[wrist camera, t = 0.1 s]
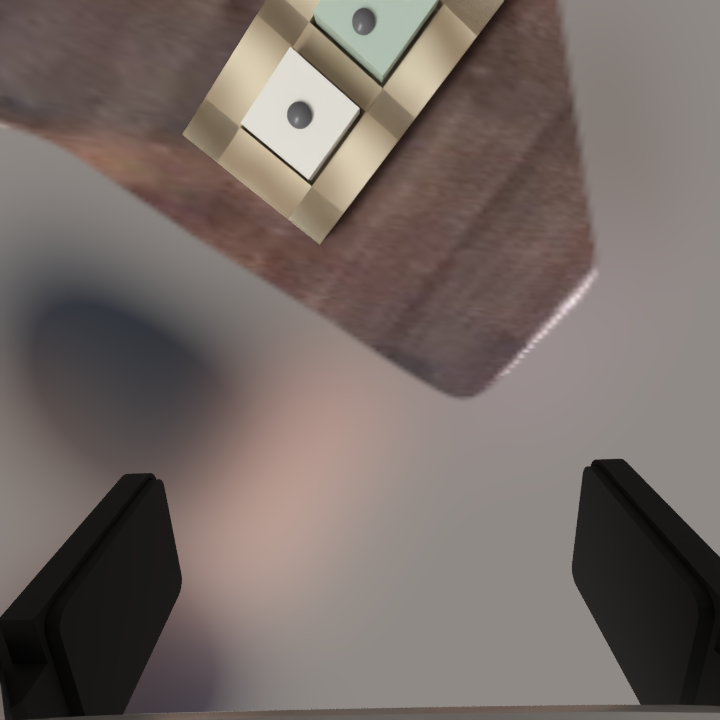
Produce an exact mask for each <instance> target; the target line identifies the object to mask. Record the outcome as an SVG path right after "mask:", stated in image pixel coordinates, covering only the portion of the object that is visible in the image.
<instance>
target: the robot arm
mask: <svg viewBox="0 0 720 720" xmlns="http://www.w3.org/2000/svg"><path fill="white" fill-rule="evenodd" d="M573 553H574V554H573V561H572V574H573V578H574V582H575V584H576V586H577V587H578V590H579V591H580V593H581V595H582V597H583V599H584V601H585V603H586V604H587V606H588V608H589V610H590V612H591V614H592V615H593V617H594V619H595V621H596V623H597V624H598V627H599V628H600V630H601V632H602V634H603V636H604V638H605V639H606V641H607V643H608V645H609V647H610V649H611V651H612V652H613V654H614V656H615V658H616V660H617V662H618V663H619V665H620V667H621V669H622V671H623V673H624V675H625V676H626V678H627V680H628V682H629V683H630V685H631V687H632V689H633V691H634V693H635V695H636V697H637V698H638V700H639V702H640V704H641V705H557V706H556V705H550V706H479V707H478V706H474V707H473V706H472V707H416V708H415V707H414V708H361V709H315V710H314V709H311V710H268V711H233V712H232V711H231V712H229V711H228V712H193V713H192V712H191V713H190V712H189V713H154V714H153V713H150V714H128V715H127V714H126V715H123V713H124V711H125V709H126V707H127V705H128V703H129V700H130V698H131V696H132V694H133V692H134V690H135V688H136V685H137V683H138V681H139V679H140V677H141V675H142V672H143V670H144V668H145V666H146V664H147V662H148V660H149V658H150V656H151V653H152V651H153V649H154V647H155V645H156V643H157V640H158V638H159V636H160V634H161V632H162V630H163V628H164V626H165V623H166V621H167V619H168V617H169V615H170V613H171V610H172V608H173V606H174V604H175V602H176V600H177V598H178V596H179V593H180V589H181V584H182V576H181V570H180V565H179V560H178V555H177V550H176V545H175V540H174V534H173V529H172V524H171V519H170V514H169V508H168V503H167V498H166V493H165V488H164V484H163V482H162V480H160V479H158V480H156V477H155V476H154V475H153V474H152V473H143V474H142V473H141V474H125V475H124V476H122V477H121V479H120V480H119V481H118V482H117V483H116V484H115V485H114V487H113V488H112V489H111V490H110V491H109V492H108V493H107V495H106V496H105V497H104V498H103V499H102V501H101V502H100V503H99V504H98V505H97V506H96V507H95V509H94V510H93V511H92V512H91V513H90V514H89V515H88V517H87V518H86V519H85V520H84V521H83V522H82V523H81V525H80V526H79V527H78V528H77V529H76V530H75V532H74V533H73V534H72V535H71V536H70V537H69V539H68V540H67V541H66V542H65V543H64V544H63V545H62V547H61V548H60V549H59V550H58V551H57V552H56V554H55V555H54V556H53V557H52V558H51V559H50V561H49V562H48V563H47V564H46V565H45V566H44V567H43V569H42V570H41V571H40V572H39V573H38V574H37V575H36V577H35V578H34V579H33V580H32V581H31V582H30V584H29V585H28V586H27V587H26V588H25V589H24V590H23V592H22V593H21V594H20V595H19V596H18V597H17V599H16V600H15V601H14V602H13V603H12V604H11V606H10V607H9V608H8V609H7V610H6V611H5V612H4V614H3V615H2V616H1V617H0V720H720V557H719V556H718V555H717V554H716V553H715V552H714V551H713V550H712V549H711V548H710V547H709V546H708V545H707V544H706V543H705V542H704V541H703V540H702V539H701V538H700V537H699V535H698V534H696V532H695V531H694V530H693V529H691V527H690V526H689V525H688V524H687V523H686V522H685V521H684V520H683V519H682V518H681V517H680V516H679V515H678V514H677V513H676V512H675V511H674V510H673V509H672V508H671V507H670V506H669V505H668V504H667V503H666V502H665V501H664V500H663V499H662V498H661V497H660V496H659V495H658V494H657V493H656V492H655V491H654V490H653V489H652V488H651V487H650V486H649V485H648V484H647V483H646V482H645V481H644V479H642V477H641V476H640V475H638V473H637V472H636V471H635V470H633V468H632V467H631V466H630V465H629V464H628V463H627V462H625V461H624V460H623V459H601V460H594V461H593V462H592V464H591V466H590V467H585V469H584V471H583V477H582V486H581V494H580V502H579V511H578V519H577V527H576V536H575V544H574V552H573Z"/></svg>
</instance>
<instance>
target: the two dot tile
mask: <svg viewBox="0 0 720 720" xmlns="http://www.w3.org/2000/svg"><path fill="white" fill-rule="evenodd" d="M438 2H439V0H320V2H319V3H318V5H317V6H316V8H315V9H314V11H313V13H314V17H315V20H316V24H318V25H319V26H320V27H321V28H322V29H323V30H324V31H325V32H326V33H327V34H329V35H330V36H331V37H332V38H333V39H334V40H335V41H336V42H337V43H338V44H339V45H341V46H342V47H343V48H344V49H345V50H346V51H347V52H348V53H349V54H350V55H352V56H353V57H354V58H355V59H356V60H357V61H358V62H359V63H360V64H361V65H363V66H364V67H365V68H366V69H367V70H368V71H369V72H370V73H371V74H372V75H374V76H375V77H376V78H377V79H378V80H379V81H380V82H381V83H382V82H383V81H384V79H385V78H386V77H387V75H388V74H389V72H390V71H391V70H392V68H393V67H394V65H395V64H396V63H397V61H398V60H399V58H400V57H401V56H402V54H403V53H404V52H405V50H406V49H407V47H408V46H409V45H410V43H411V42H412V40H413V39H414V38H415V36H416V35H417V33H418V32H419V31H420V29H421V28H422V27H423V25H424V24H425V22H426V21H427V20H428V18H429V17H430V15H431V14H432V13H433V11H434V10H435V8H436V7H437V4H438Z"/></svg>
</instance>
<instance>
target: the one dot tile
mask: <svg viewBox="0 0 720 720" xmlns="http://www.w3.org/2000/svg"><path fill="white" fill-rule="evenodd" d="M359 114H360V108H359V107H358V106H356V105H355V104H354V103H353V102H352V101H351V100H350V99H349V98H347V97H346V96H345V95H344V94H343V93H342V92H341V91H340V90H338V89H337V88H336V87H335V86H334V85H333V84H332V83H331V82H329V81H328V80H327V79H326V78H325V77H324V76H323V75H322V74H320V73H319V72H318V71H317V70H316V69H315V68H314V67H313V66H311V65H310V64H309V63H308V62H307V61H306V60H305V59H304V58H302V57H301V56H300V55H299V54H298V53H297V52H296V51H294V50H293V49H292V48H291V47H290V48H289V49H288V51H287V52H286V54H285V55H284V57H283V58H282V60H281V62H280V63H279V65H278V66H277V68H276V69H275V71H274V72H273V74H272V75H271V77H270V78H269V80H268V82H267V83H266V85H265V86H264V88H263V89H262V91H261V92H260V94H259V95H258V97H257V98H256V100H255V101H254V103H253V105H252V106H251V108H250V109H249V111H248V112H247V114H246V115H245V117H244V118H243V120H242V121H241V124H242V125H243V126H244V127H246V128H247V129H248V130H249V131H250V132H252V133H253V134H254V135H255V136H256V137H258V138H259V139H260V140H261V141H262V142H264V143H265V144H266V145H267V146H268V147H270V148H271V149H272V150H273V151H274V152H276V153H277V154H278V155H279V156H280V157H282V158H283V159H284V160H285V161H286V162H288V163H289V164H290V165H291V166H293V167H294V168H295V169H296V170H297V171H299V172H300V173H301V174H302V175H303V176H305V177H306V178H307V179H308V180H312V179H313V178H314V177H315V175H316V174H317V172H318V171H319V170H320V168H321V167H322V165H323V164H324V163H325V161H326V160H327V158H328V157H329V156H330V154H331V153H332V152H333V150H334V149H335V147H336V146H337V145H338V143H339V142H340V140H341V139H342V138H343V136H344V135H345V133H346V132H347V131H348V129H349V128H350V127H351V125H352V124H353V122H354V121H355V120H356V118H357V117H358V115H359Z"/></svg>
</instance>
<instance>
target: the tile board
mask: <svg viewBox="0 0 720 720" xmlns="http://www.w3.org/2000/svg"><path fill="white" fill-rule="evenodd" d="M319 2H320V0H266V1H265V2H264V4H263V6H262V7H261V9H260V10H259V12H258V14H257V15H256V17H255V18H254V20H253V22H252V23H251V25H250V27H249V28H248V30H247V31H246V33H245V35H244V36H243V38H242V39H241V41H240V43H239V44H238V46H237V48H236V49H235V51H234V52H233V54H232V56H231V57H230V59H229V60H228V62H227V64H226V65H225V67H224V68H223V70H222V72H221V73H220V75H219V77H218V78H217V80H216V81H215V83H214V85H213V86H212V88H211V89H210V91H209V93H208V94H207V96H206V97H205V99H204V101H203V102H202V104H201V106H200V107H199V109H198V110H197V112H196V114H195V115H194V117H193V118H192V120H191V122H190V123H189V125H188V127H187V128H186V130H185V131H184V133H183V135H184V136H185V137H186V138H187V139H189V140H190V141H191V142H192V143H194V144H195V145H196V146H197V147H199V148H200V149H201V150H202V151H204V152H205V153H206V154H207V155H209V156H210V157H211V158H212V159H214V160H215V161H216V162H217V163H219V164H220V165H221V166H222V167H224V168H225V169H226V170H227V171H228V172H230V173H231V174H232V175H233V176H235V177H236V178H237V179H238V180H240V181H241V182H242V183H243V184H245V185H246V186H247V187H248V188H250V189H251V190H252V191H253V192H255V193H256V194H257V195H258V196H260V197H261V198H262V199H263V200H265V201H266V202H267V203H268V204H270V205H271V206H272V207H273V208H275V209H276V210H277V211H278V212H280V213H281V214H282V215H283V216H285V217H286V218H287V219H288V220H290V221H291V222H292V223H293V224H295V225H296V226H297V227H298V228H300V229H301V230H302V231H303V232H305V233H306V234H307V235H308V236H310V237H311V238H312V239H313V240H314V241H316V242H317V243H318V244H319V245H320V244H321V243H322V241H323V240H324V239H325V238H326V236H327V235H328V234H329V232H330V231H331V230H332V228H333V227H334V226H335V224H336V223H337V222H338V220H339V219H340V218H341V216H342V215H343V214H344V212H345V211H346V210H347V208H348V207H349V206H350V204H351V203H352V202H353V201H354V199H355V198H356V197H357V195H358V194H359V193H360V191H361V190H362V189H363V187H364V186H365V185H366V183H367V182H368V181H369V179H370V178H371V177H372V175H373V174H374V173H375V171H376V170H377V169H378V167H379V166H380V165H381V163H382V162H383V161H384V159H385V158H386V157H387V156H388V154H389V153H390V152H391V150H392V149H393V148H394V146H395V145H396V144H397V142H398V141H399V140H400V138H401V137H402V136H403V134H404V133H405V132H406V130H407V129H408V128H409V126H410V125H411V124H412V122H413V121H414V120H415V118H416V117H417V116H418V115H419V113H420V112H421V111H422V109H423V108H424V107H425V105H426V104H427V103H428V101H429V100H430V99H431V97H432V96H433V95H434V93H435V92H436V91H437V89H438V88H439V87H440V85H441V84H442V83H443V81H444V80H445V79H446V77H447V76H448V75H449V73H450V72H451V71H452V70H453V68H454V67H455V66H456V64H457V63H458V62H459V60H460V59H461V58H462V56H463V55H464V54H465V52H466V51H467V50H468V48H469V47H470V46H471V44H472V43H473V42H474V40H475V39H476V38H477V36H478V35H479V34H480V32H481V31H482V30H483V29H484V27H485V26H486V25H487V23H488V22H489V21H490V19H491V18H492V17H493V15H494V14H495V13H496V11H497V10H498V9H499V7H500V6H501V4H502V3H503V2H504V0H439V2H438V4H437V7H436V8H435V10H434V11H433V13H432V14H431V15H430V17H429V18H428V20H427V21H426V22H425V24H424V25H423V27H422V28H421V29H420V31H419V32H418V33H417V35H416V36H415V38H414V39H413V40H412V42H411V43H410V45H409V46H408V47H407V49H406V50H405V52H404V53H403V54H402V56H401V57H400V58H399V60H398V61H397V63H396V64H395V65H394V67H393V68H392V70H391V71H390V72H389V74H388V75H387V77H386V78H385V79H384V81H383V82H382V83H381V82H380V81H379V80H378V79H377V78H376V77H375V76H374V75H372V74H371V73H370V72H369V71H368V70H367V69H366V68H365V67H364V66H363V65H361V64H360V63H359V62H358V61H357V60H356V59H355V58H354V57H353V56H352V55H350V54H349V53H348V52H347V51H346V50H345V49H344V48H343V47H342V46H341V45H339V44H338V43H337V42H336V41H335V40H334V39H333V38H332V37H331V36H330V35H329V34H327V33H326V32H325V31H324V30H323V29H322V28H321V27H320V26H319V25H318V24H316V20H315V17H314V13H313V11H314V9H315V8H316V6H317V5H318V3H319ZM290 47H291V48H292V49H293V50H294V51H296V52H297V53H298V54H299V55H300V56H301V57H302V58H304V59H305V60H306V61H307V62H308V63H309V64H310V65H311V66H313V67H314V68H315V69H316V70H317V71H318V72H319V73H320V74H322V75H323V76H324V77H325V78H326V79H327V80H328V81H329V82H331V83H332V84H333V85H334V86H335V87H336V88H337V89H338V90H340V91H341V92H342V93H343V94H344V95H345V96H346V97H347V98H349V99H350V100H351V101H352V102H353V103H354V104H355V105H356V106H358V107H359V108H360V114H359V115H358V117H357V118H356V120H355V121H354V122H353V124H352V125H351V127H350V128H349V129H348V131H347V132H346V133H345V135H344V136H343V138H342V139H341V140H340V142H339V143H338V145H337V146H336V147H335V149H334V150H333V152H332V153H331V154H330V156H329V157H328V158H327V160H326V161H325V163H324V164H323V165H322V167H321V168H320V170H319V171H318V172H317V174H316V175H315V177H314V178H313V179H312V180H308V179H307V178H306V177H305V176H303V175H302V174H301V173H300V172H299V171H297V170H296V169H295V168H294V167H293V166H291V165H290V164H289V163H288V162H286V161H285V160H284V159H283V158H282V157H280V156H279V155H278V154H277V153H276V152H274V151H273V150H272V149H271V148H270V147H268V146H267V145H266V144H265V143H264V142H262V141H261V140H260V139H259V138H258V137H256V136H255V135H254V134H253V133H252V132H250V131H249V130H248V129H247V128H246V127H244V126H243V125H242V124H241V121H242V120H243V118H244V117H245V115H246V114H247V112H248V111H249V109H250V108H251V106H252V105H253V103H254V101H255V100H256V98H257V97H258V95H259V94H260V92H261V91H262V89H263V88H264V86H265V85H266V83H267V82H268V80H269V78H270V77H271V75H272V74H273V72H274V71H275V69H276V68H277V66H278V65H279V63H280V62H281V60H282V58H283V57H284V55H285V54H286V52H287V51H288V49H289V48H290Z"/></svg>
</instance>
